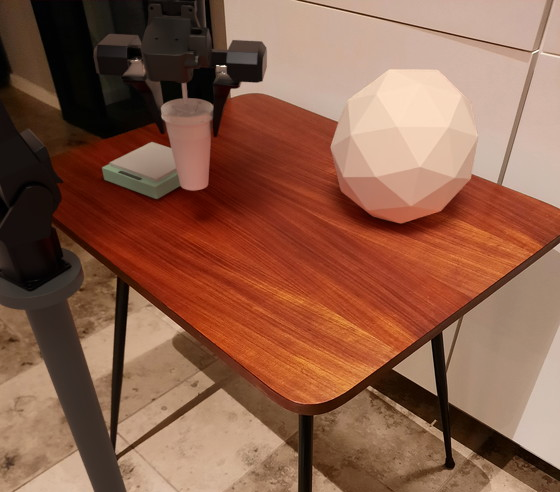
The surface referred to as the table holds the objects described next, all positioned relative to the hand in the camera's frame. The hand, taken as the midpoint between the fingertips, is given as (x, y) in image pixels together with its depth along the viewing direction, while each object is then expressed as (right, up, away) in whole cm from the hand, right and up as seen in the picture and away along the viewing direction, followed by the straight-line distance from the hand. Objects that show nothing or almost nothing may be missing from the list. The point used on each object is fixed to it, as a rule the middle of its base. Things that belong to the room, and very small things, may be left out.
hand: (189, 134), depth 69 cm
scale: (-9, +2, +20) cm, 22 cm away
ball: (+28, -6, +14) cm, 32 cm away
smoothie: (0, -5, +5) cm, 7 cm away
